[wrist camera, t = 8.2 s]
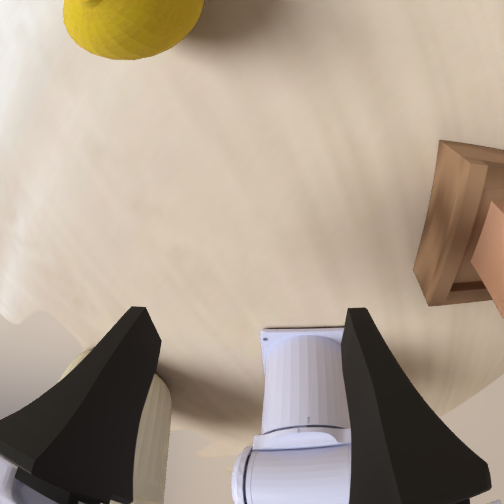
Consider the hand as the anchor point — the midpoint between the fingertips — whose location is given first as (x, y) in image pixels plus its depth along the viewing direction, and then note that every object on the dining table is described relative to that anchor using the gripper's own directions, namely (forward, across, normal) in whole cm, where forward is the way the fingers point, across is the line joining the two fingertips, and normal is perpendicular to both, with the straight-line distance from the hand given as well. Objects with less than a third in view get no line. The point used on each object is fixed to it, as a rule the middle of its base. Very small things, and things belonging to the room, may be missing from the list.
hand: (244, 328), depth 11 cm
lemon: (+10, +4, -12) cm, 16 cm away
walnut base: (+10, -16, +1) cm, 19 cm away
